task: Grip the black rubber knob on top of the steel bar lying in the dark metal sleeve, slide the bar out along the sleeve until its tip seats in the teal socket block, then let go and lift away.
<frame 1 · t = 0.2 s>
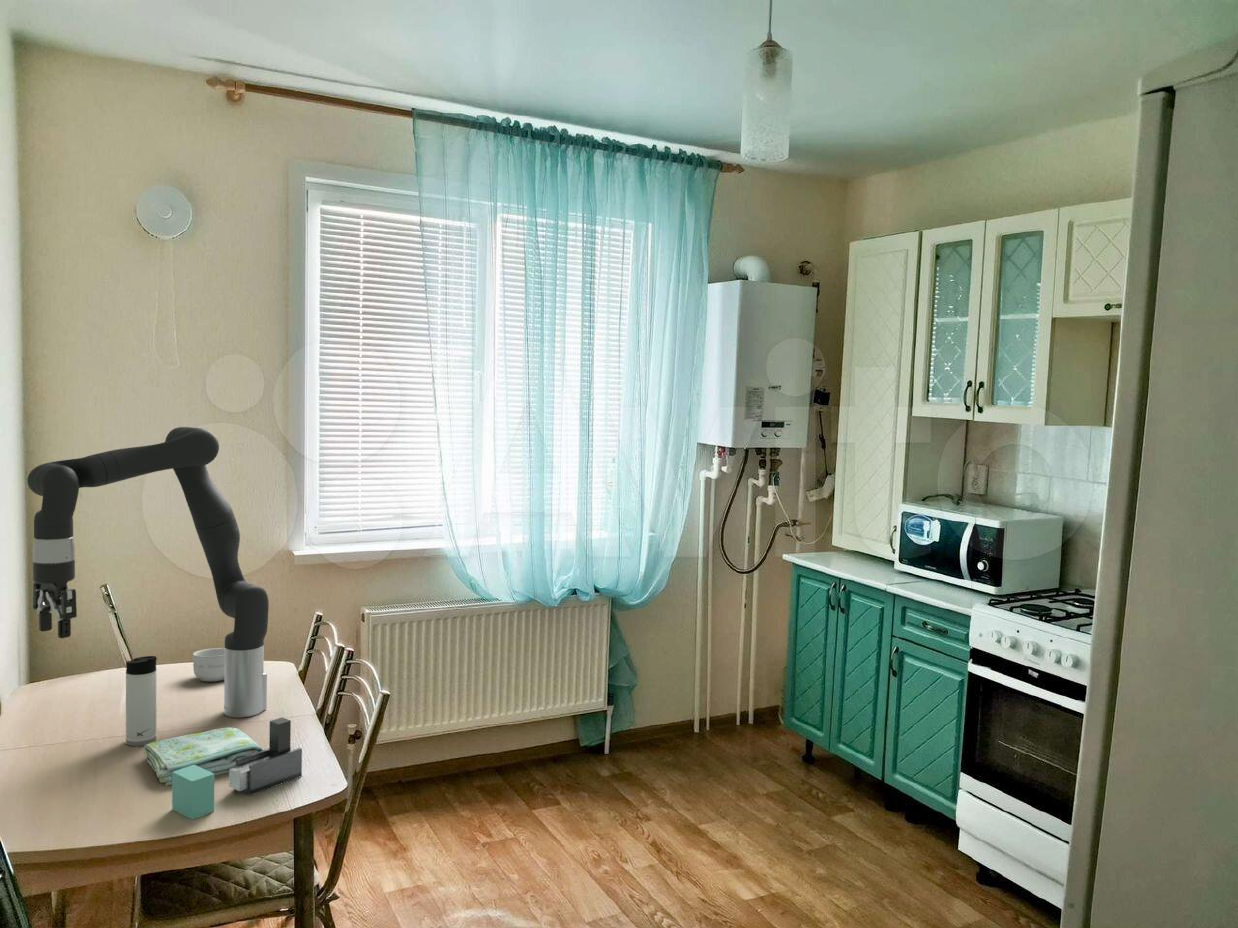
hand: (54, 633, 190), 29 cm above the table, tool pointing down, fingers open, 8 cm apart
travel mug: (141, 742, 208), on the table
towel: (202, 764, 198), on the table
sleeve: (269, 781, 189), on the table
inner bar: (265, 751, 187), point 7 cm above the table, slide at 0.0 cm
teacup: (218, 679, 255), on the table
socket block: (193, 810, 175), on the table
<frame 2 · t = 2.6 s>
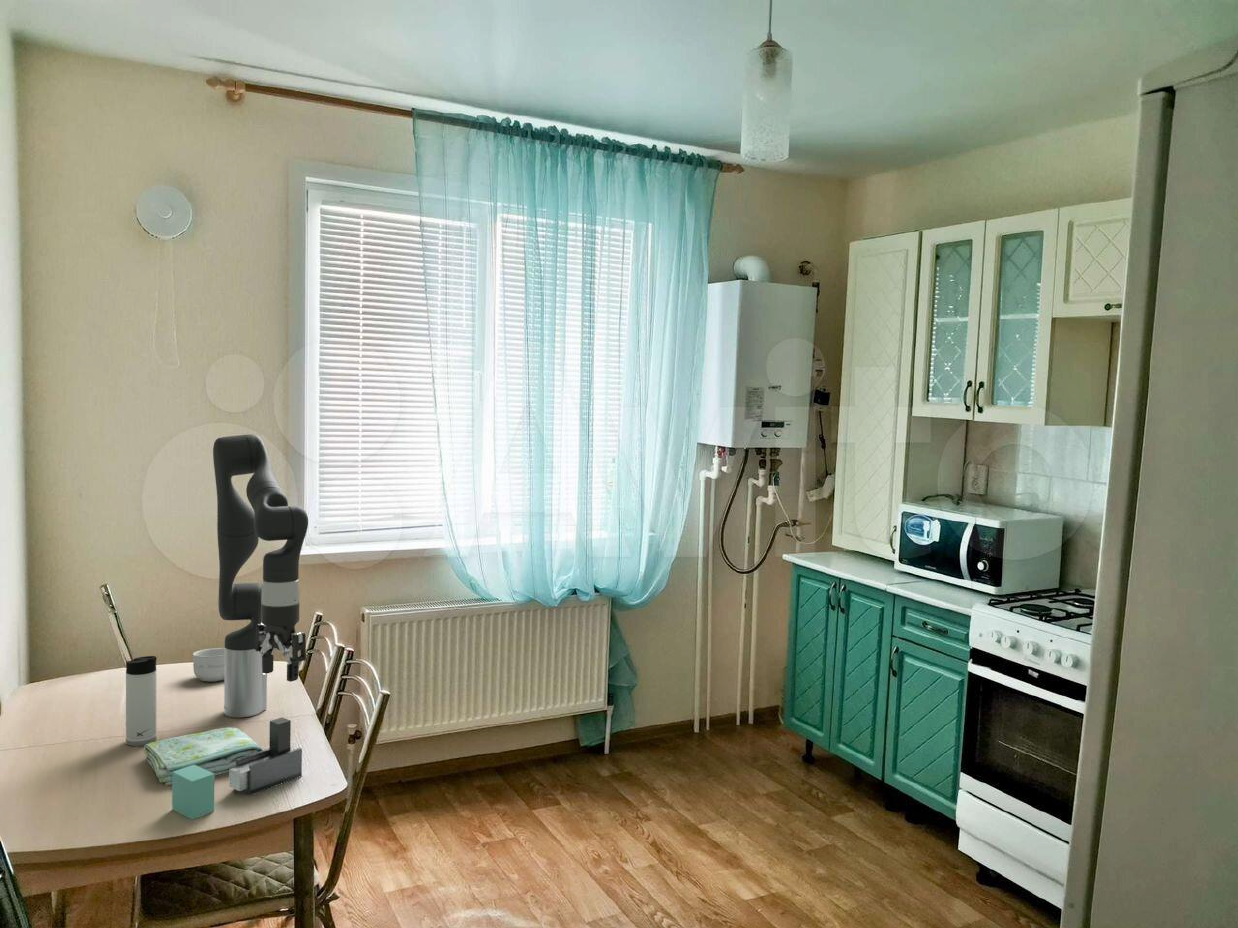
hand: (279, 676, 189), 22 cm above the table, tool pointing down, fingers open, 8 cm apart
nothing on the table moved.
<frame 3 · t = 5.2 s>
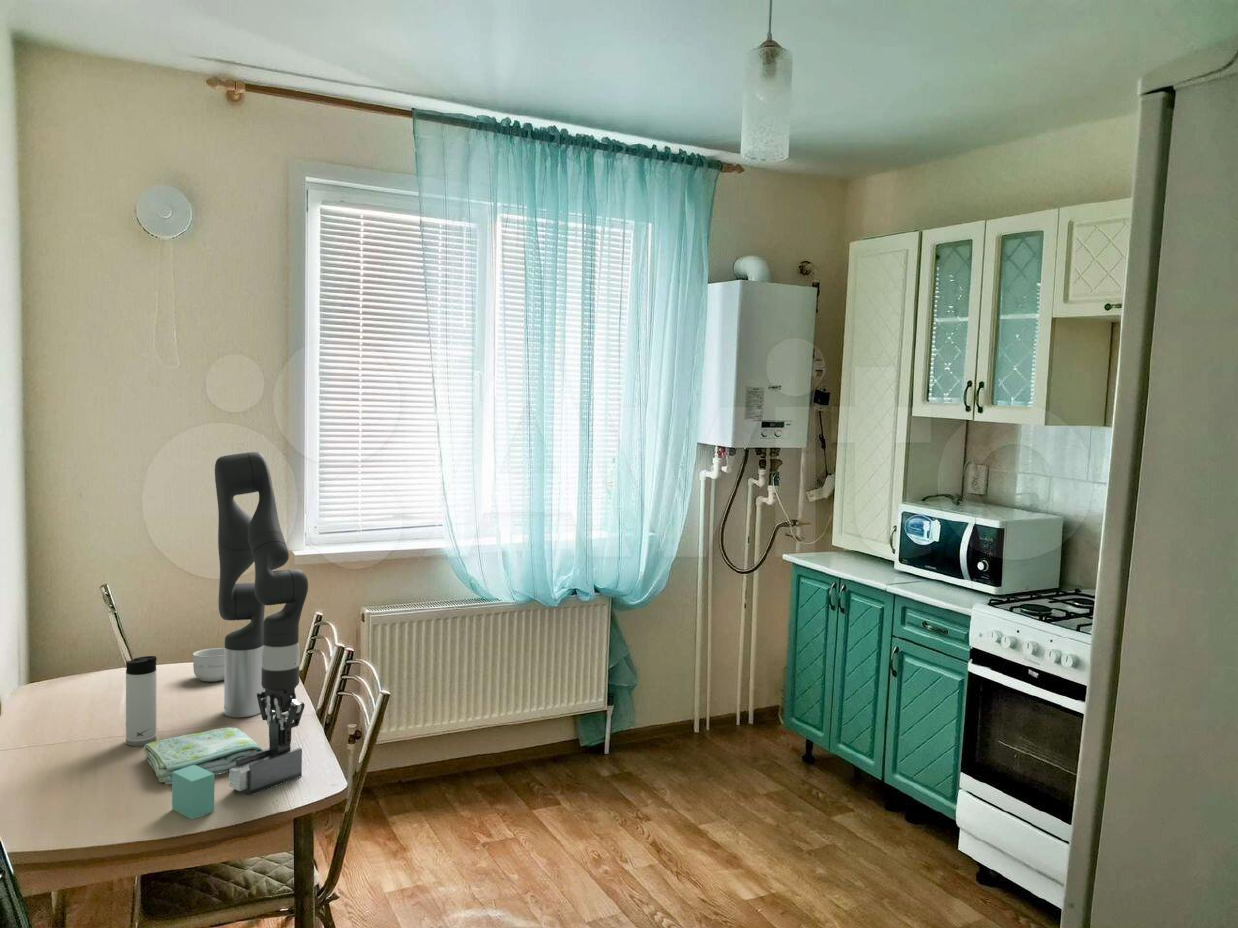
hand: (279, 743, 190), 8 cm above the table, tool pointing down, fingers closed on inner bar, 3 cm apart
inner bar: (265, 751, 187), point 7 cm above the table, slide at 0.0 cm, touching gripper
everything else where it was.
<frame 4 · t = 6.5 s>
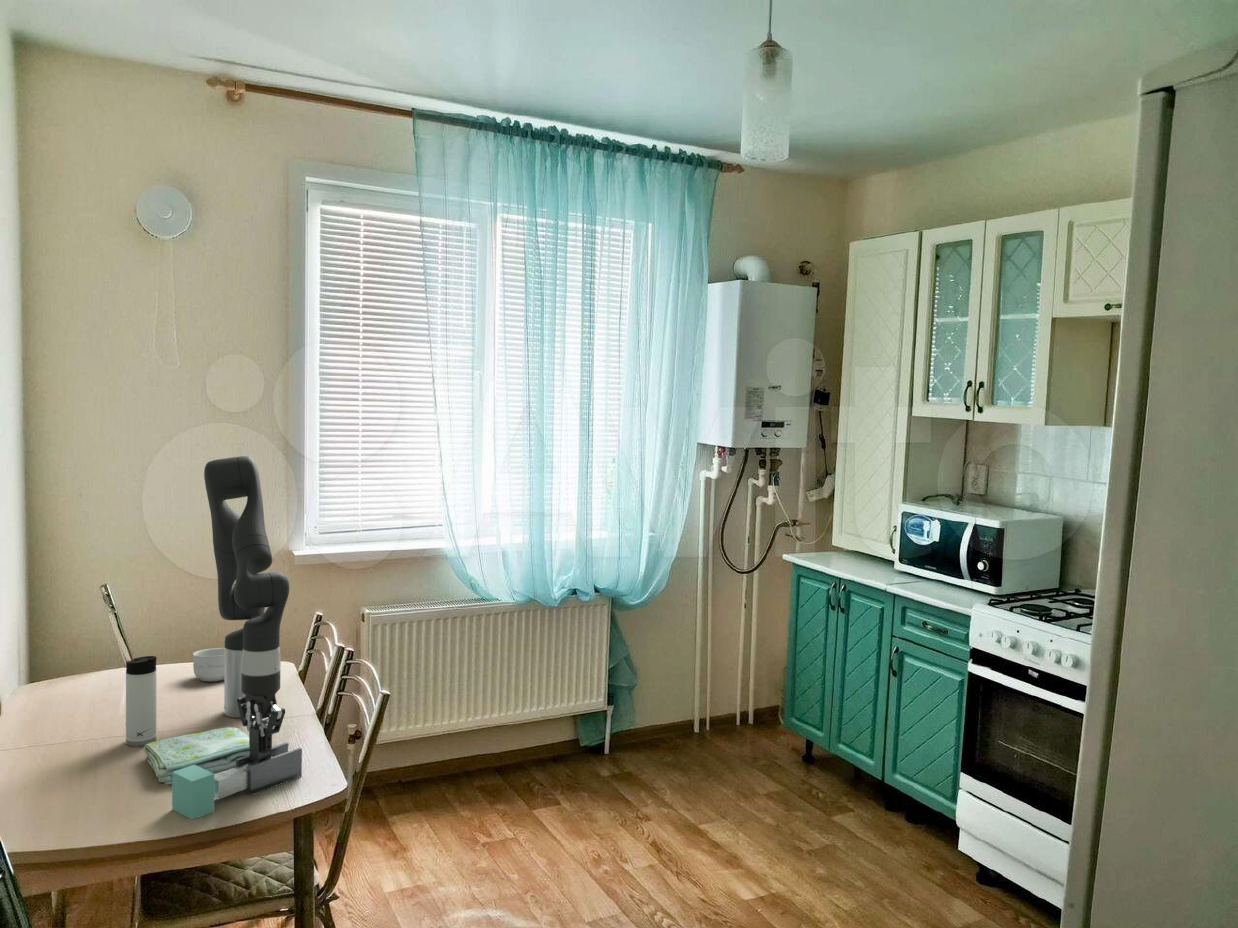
hand: (260, 749, 186), 8 cm above the table, tool pointing down, fingers closed on inner bar, 3 cm apart
inner bar: (245, 758, 183), point 7 cm above the table, slide at 4.6 cm, touching gripper
everything else where it was.
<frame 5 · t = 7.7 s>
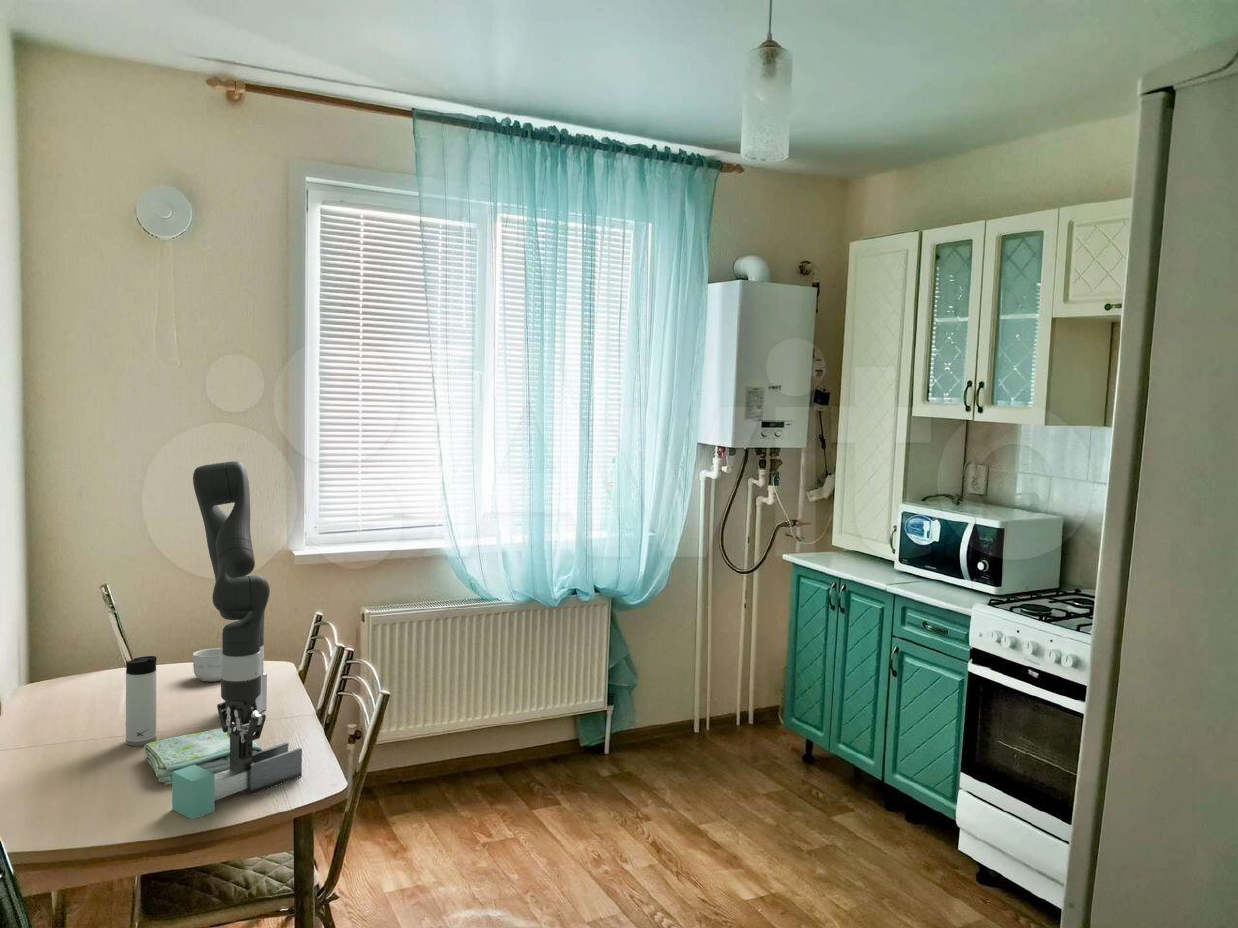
hand: (240, 756, 183), 8 cm above the table, tool pointing down, fingers closed on inner bar, 3 cm apart
inner bar: (225, 764, 180), point 7 cm above the table, slide at 9.1 cm, touching gripper
everything else where it was.
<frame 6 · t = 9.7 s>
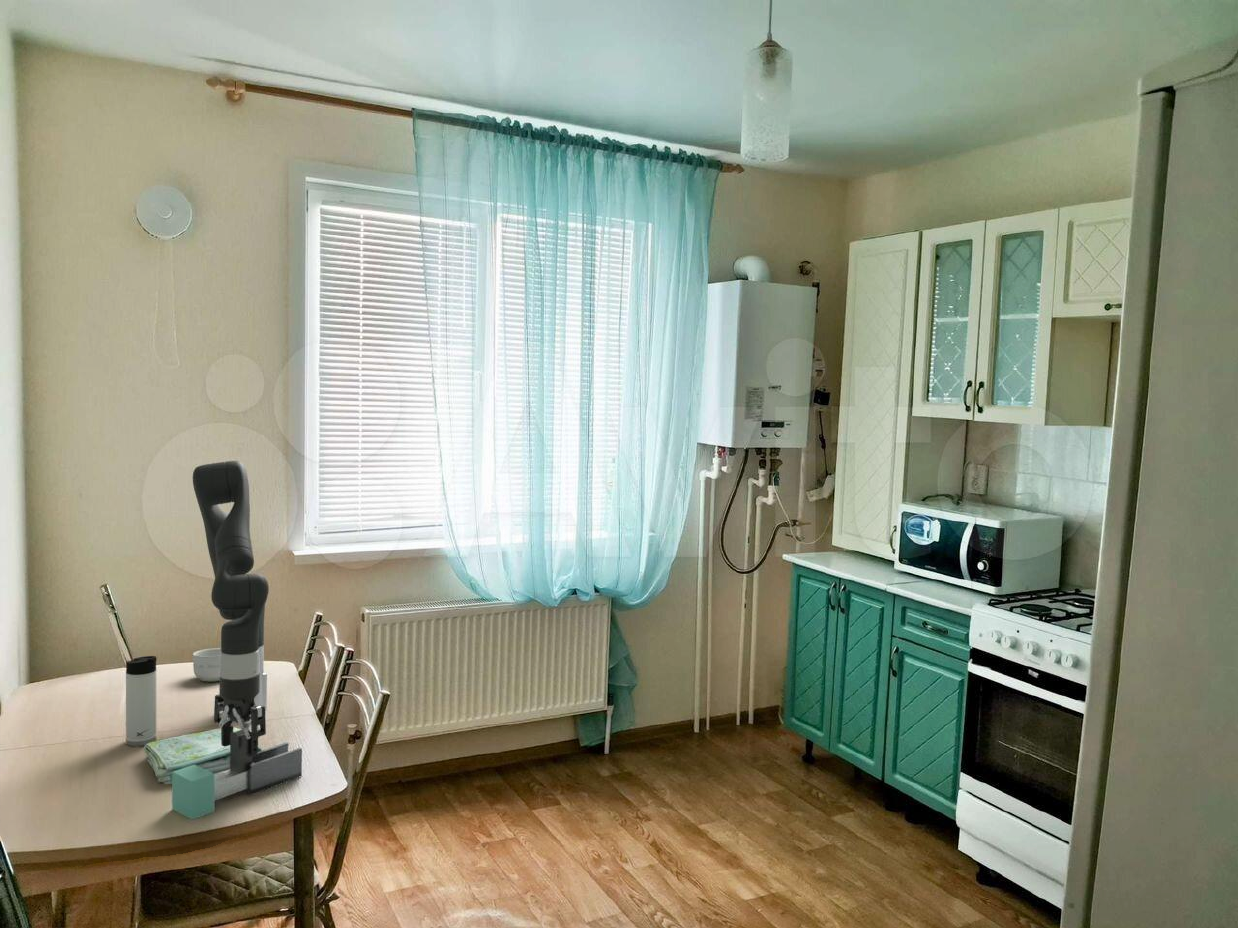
hand: (239, 750, 182), 9 cm above the table, tool pointing down, fingers open, 8 cm apart
inner bar: (225, 764, 180), point 7 cm above the table, slide at 9.0 cm
everything else where it was.
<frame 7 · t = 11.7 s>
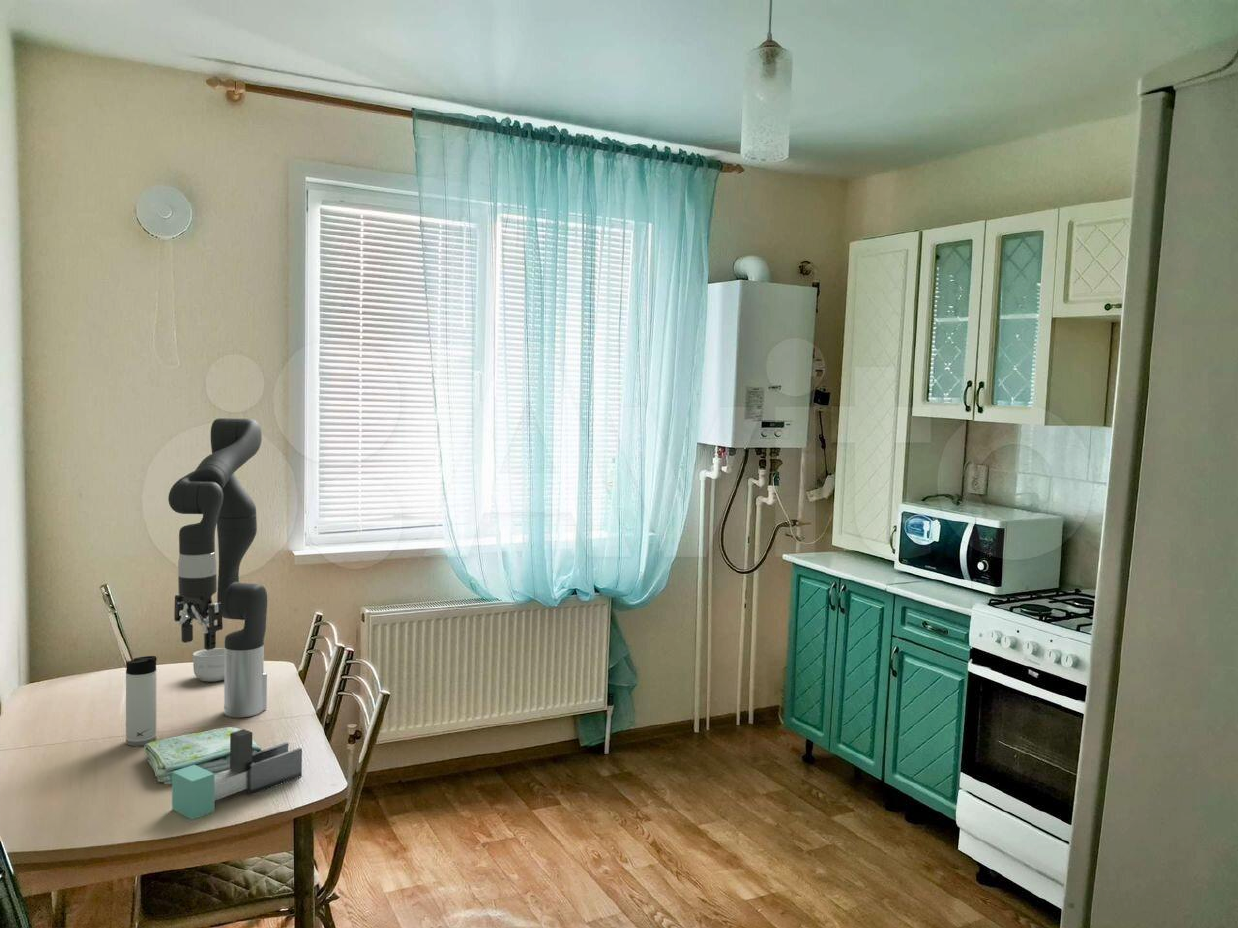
hand: (198, 645, 196), 26 cm above the table, tool pointing down, fingers open, 8 cm apart
nothing on the table moved.
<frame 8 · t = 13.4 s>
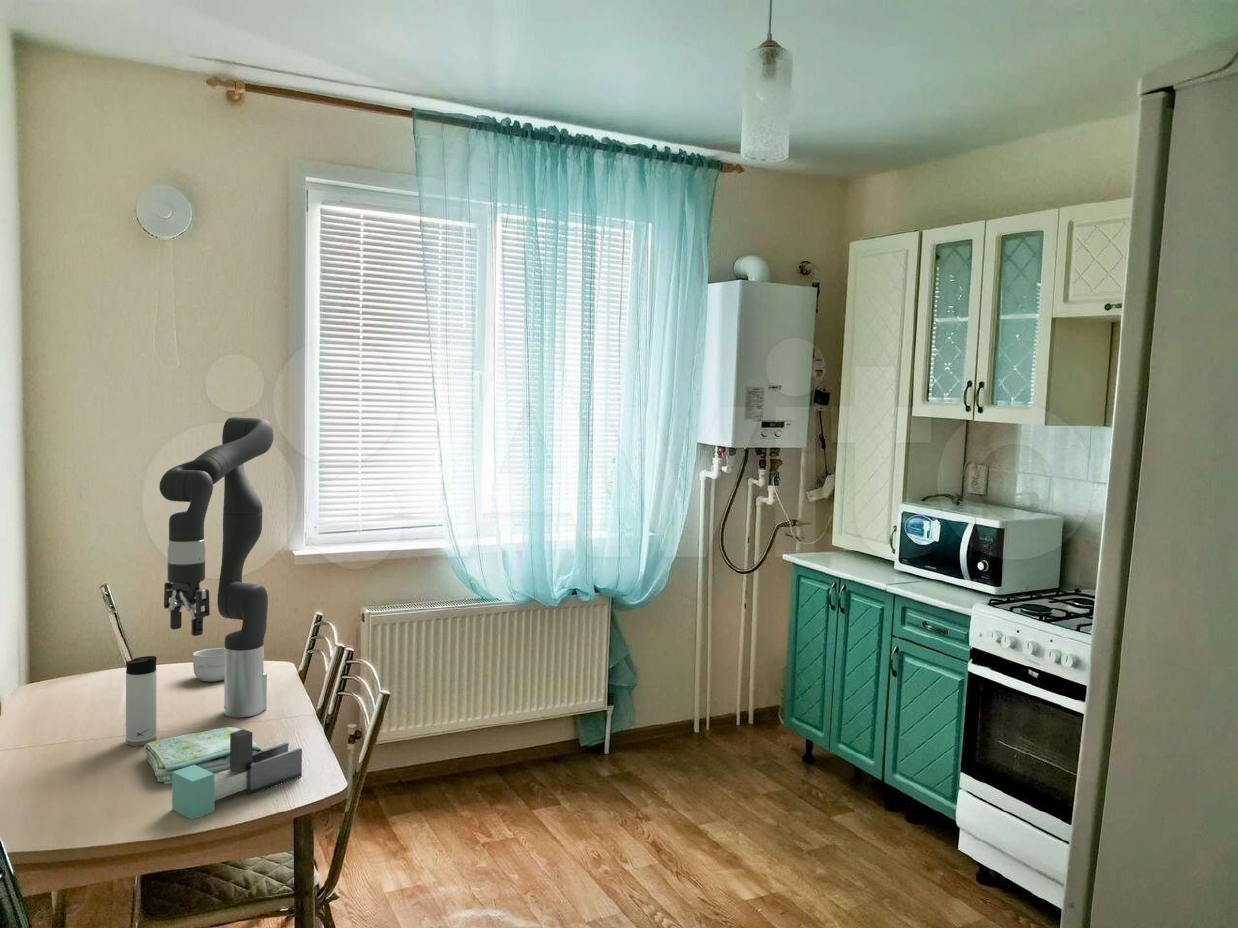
hand: (186, 631, 199), 28 cm above the table, tool pointing down, fingers open, 8 cm apart
nothing on the table moved.
at the end: inner bar slide at 9.0 cm; the gripper is holding nothing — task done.
